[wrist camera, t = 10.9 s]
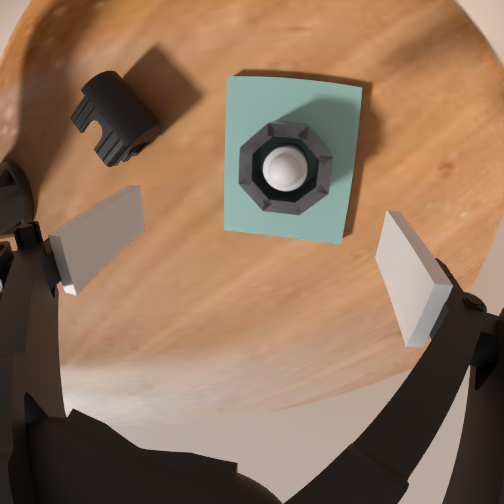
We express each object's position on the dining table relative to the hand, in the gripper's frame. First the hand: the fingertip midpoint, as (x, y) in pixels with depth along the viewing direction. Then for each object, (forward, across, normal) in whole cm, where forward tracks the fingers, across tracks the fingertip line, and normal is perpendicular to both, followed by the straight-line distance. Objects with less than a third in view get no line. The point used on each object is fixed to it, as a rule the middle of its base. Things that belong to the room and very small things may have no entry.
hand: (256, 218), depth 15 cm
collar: (+18, +1, 0) cm, 18 cm away
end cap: (+20, -19, +5) cm, 28 cm away
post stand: (+19, +1, 0) cm, 19 cm away
